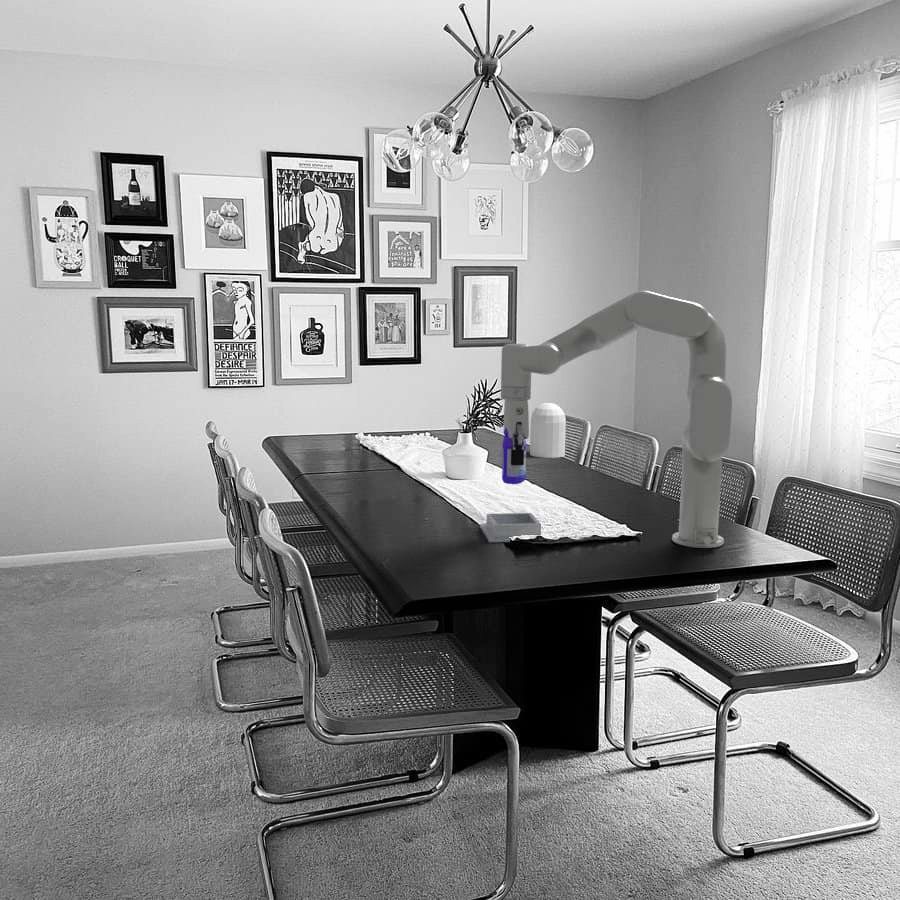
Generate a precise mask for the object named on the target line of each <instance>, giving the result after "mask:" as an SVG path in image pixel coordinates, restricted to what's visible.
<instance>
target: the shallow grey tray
mask: <svg viewBox="0 0 900 900" xmlns="http://www.w3.org/2000/svg"><path fill="white" fill-rule="evenodd" d="M479 528H480V529H481V531H482V533H483V535H484V536H485V538H486V540H487V542H488V543H511V542H510V539H511V538H509V537H513V536H521V535H541V530H542V523H541V522H540V521H539V520H538V519H537V518H536V516H535V515H534V514H533V513H532V512H509V513H508V512H507V513H506V512H505V513H502V512H501V513H486V522H485V524H484V523H480V524H479Z"/></svg>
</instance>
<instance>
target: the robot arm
mask: <svg viewBox="0 0 900 900" xmlns="http://www.w3.org/2000/svg"><path fill="white" fill-rule="evenodd" d="M642 328H644V329H646V330H650V331H654V332H657V333H661V334H662V333H663V334H666V335H671V336H675V337H678V338H682V339H685V340H686V342H687V344H688V348H689V368H688V369H689V371H688V382H687V383H688V385H687V392H686V396H687V397H686V398H687V400H688V403H689V404H690V405H689V406H690V407H689V408H690V410H689V421H688V423H687V424H686V425H685V427H684V429H683V433H682V438H681V439H682V440H681V441H682V443H681V448H682V451H681V452H682V453H681V454H682V455H681V456H682V460H681V461H682V463H681V465H682V467H681V480H680V481H681V482H680V483H681V484H680V497H679V498H680V499H679V501H680V502H679V520H678V522H679V523H678V532H675V533H673V534H671V535H672V537H671V540H672V541H673V543H675V544H678V545H680V546H683V547H689V548H698V549H711V548H712V549H713V548H718V547H719V548H720V547H721V546H723V545H724V543H725V539H724V538H723V537H722V536H721V535H719V534H718V533H719V519H720V516H719V515H720V502H721V488H722V487H721V484H722V472H723V471H722V469H723V467H722V465H723V463H722V462H723V461H722V459H723V456H725V455H726V453H727V451H728V450H729V449H728V448H729V445H730V442H731V441H730V440H731V428H732V413H733V412H732V410H733V409H732V408H733V396H732V391H731V388H730V386H729V384H728V383H727V382H726V370H727V369H726V367H727V363H726V362H727V346H726V345H727V344H726V338H725V334H724V332H723V329H722V327H721V325H720V324H719V323H718V321H717V320H716V318H715V317H714V316H713V315H712V314H711V313H710V312H708V310H707V309H706V308H705V307H704V306H702V305H701V304H699V303H697V302H692V301H689V300H688V301H687V300H682V299H679V298H675V297H670V296H667V295H662V294H659V293H655V292H653V291H649V290H637V291H635V292H632V293H631V294H629V295H627V296H625V297H622V298H621V299H619V300H617V301H616V302H614V303H612V304H610V305H609V306H607V307H605V308H603V309H601V310H599V311H596V312H595V313H594V314H591V315H589V316H588V317H586V318H584V319H583V320H582V321H580V322H579V323H577V324H576V325H574V326H572V327H570V328H569V329H567V330H565V331H563V332H561V333H559V334H557V335H556V336H553V337H552V338H550V339H548V340H546V341H544V342H542V343H541V344H539V345H529V344H526V343H506V344H504V345H503V346H502V348H501V361H500V363H501V366H500V367H501V368H500V369H501V370H500V399H501V400H504V404H503V405H504V409H503V431H504V430H505V428H507V431H508V437H509V438H510V439H512V449H511V465H524V441H523V438H525V440H528V439H529V438H530V419H529V417H530V416H529V415H530V413H529V401H530V400H531V399H532V397H531V393H532V391H531V389H532V373H533V374H539V375H543V376H544V375H545V376H546V375H552V374H554V373H556V372H557V371H559V369H560V368H561V367H562V366H564V365H566V364H567V363H570V362H571V361H573V360H575V359H578V358H579V357H581V356H583V355H585V354H588V353H591V352H593V351H599V350H602V349H604V348H606V347H609V346H610V345H612V344H614V343H615V342H616V343H617V342H618V341H620V340H621V339H623V338H626V337H627V336H629V335H631V334H632V333H635V332H636V331H639V330H640V329H642ZM523 434H524V435H523ZM514 436H517V437H514ZM515 442H516V443H515Z"/></svg>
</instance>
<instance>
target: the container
mask: <svg viewBox="0 0 900 900" xmlns="http://www.w3.org/2000/svg"><path fill="white" fill-rule="evenodd" d="M530 417H531V418H530V429H529V438H530V441H529V454H530V456H532V457H536V458H547V459H549V458H551V459H552V458H553V459H554V458H562V457H565V455H566V428H567V427H566V425H567V424H566V423H567V419H566V414H565V412H564V410H563V409H562V407H560V406H559V405H557V404H556V403H553V402H552V403H551V402H544V403H543V402H542V403H541V404H539V405H538V406H536V407H535V408H534V409H533V411H532V412H531V416H530Z"/></svg>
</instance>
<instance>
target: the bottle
mask: <svg viewBox="0 0 900 900" xmlns="http://www.w3.org/2000/svg"><path fill="white" fill-rule="evenodd" d="M503 435H504V437H503V440H502V453H501V454H502V460H501V461H502V465H501V466H502V467H501V469H502V470H501V480H502V482H503V483H504V484H507V485H519V484H522V483H524V482H525V481H526V476H527V468H526V467H527V463H526V462H527V439H525V438H523V441H524V465H511V449H512V439H510V438H509V437H508V431H507V428H505V430H504V429H503ZM523 435H524V434H523ZM514 437H517V436H514ZM515 443H516V442H515Z"/></svg>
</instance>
